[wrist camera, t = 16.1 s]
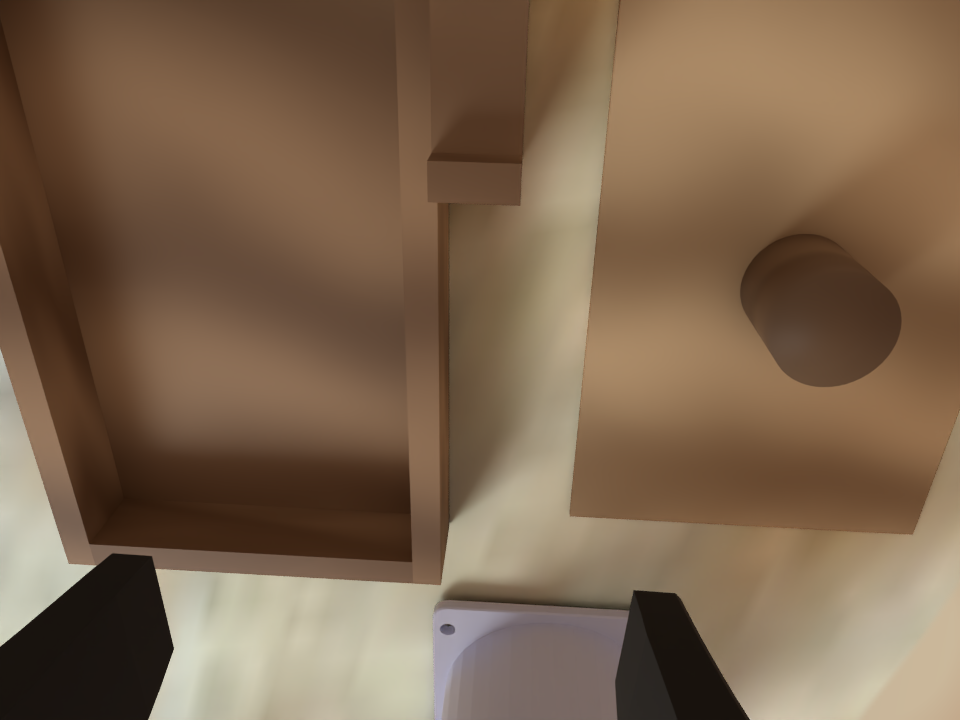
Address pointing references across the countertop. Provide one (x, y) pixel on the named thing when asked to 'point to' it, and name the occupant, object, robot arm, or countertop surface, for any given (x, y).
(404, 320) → the long low wooden box
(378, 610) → the countertop surface
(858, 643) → the countertop surface
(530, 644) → the robot arm
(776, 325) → the lid
